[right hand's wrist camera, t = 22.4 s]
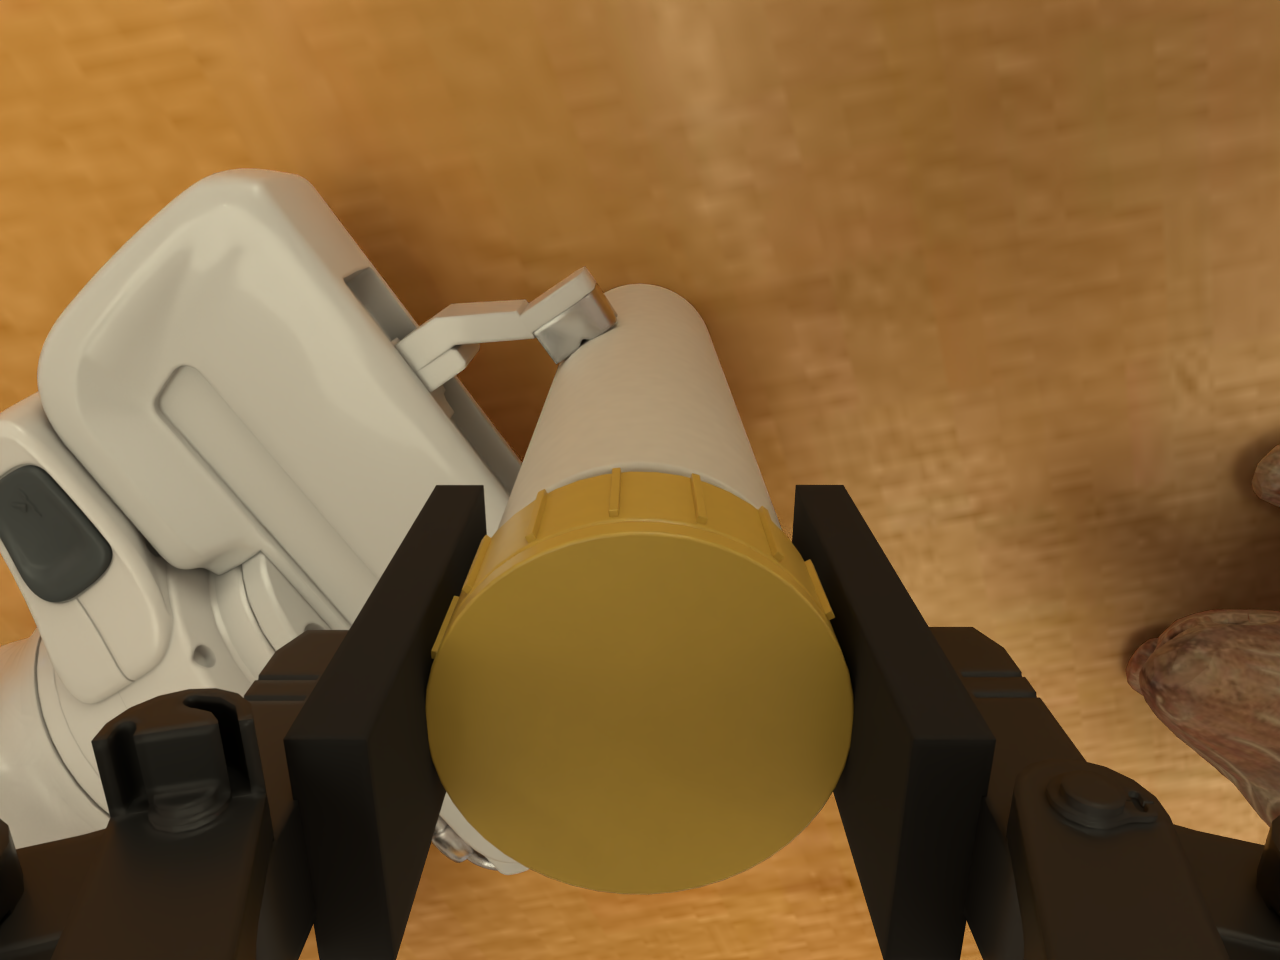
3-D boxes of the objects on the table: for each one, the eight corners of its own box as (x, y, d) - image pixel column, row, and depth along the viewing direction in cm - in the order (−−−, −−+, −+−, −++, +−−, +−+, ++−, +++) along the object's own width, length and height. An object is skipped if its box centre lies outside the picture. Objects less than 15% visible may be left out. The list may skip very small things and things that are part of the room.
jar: (612, 255, 28) (564, 443, 10) (739, 329, 29) (899, 624, 11) (542, 382, 29) (392, 741, 12) (665, 450, 30) (702, 881, 12)
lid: (853, 482, 11) (894, 548, 10) (796, 802, 13) (822, 911, 11) (455, 450, 11) (420, 511, 9) (451, 779, 13) (420, 884, 11)
